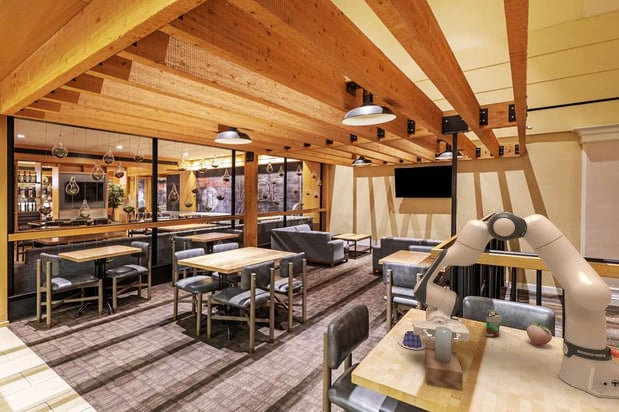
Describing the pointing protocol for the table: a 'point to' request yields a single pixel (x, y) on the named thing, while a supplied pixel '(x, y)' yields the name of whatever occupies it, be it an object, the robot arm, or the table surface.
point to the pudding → (412, 341)
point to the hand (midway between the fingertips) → (442, 339)
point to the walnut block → (443, 371)
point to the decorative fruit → (539, 334)
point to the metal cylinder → (443, 344)
